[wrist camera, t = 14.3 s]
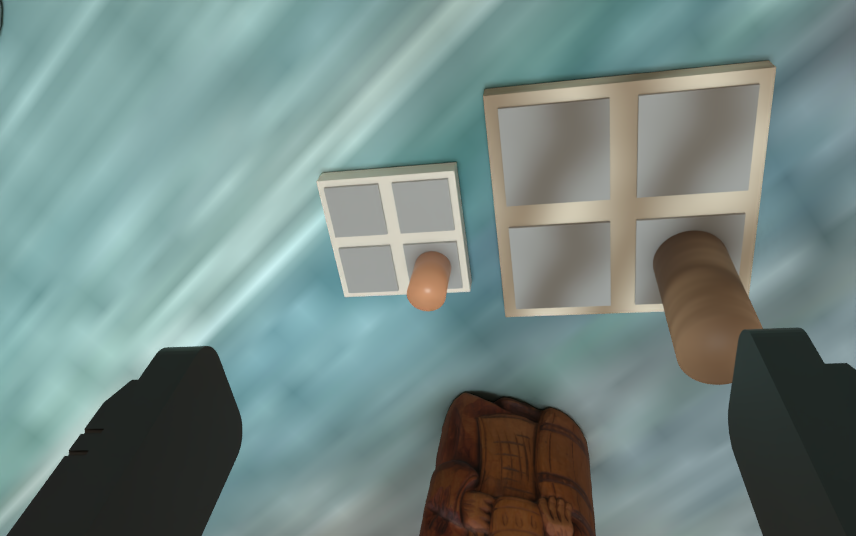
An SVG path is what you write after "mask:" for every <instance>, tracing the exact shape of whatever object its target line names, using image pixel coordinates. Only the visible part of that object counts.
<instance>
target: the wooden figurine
mask: <svg viewBox="0 0 856 536" xmlns="http://www.w3.org/2000/svg"><path fill="white" fill-rule="evenodd" d="M419 536H596V533H595V519H594V508H593V500H592V486H591V477H590V462H589V453H588V447H587V442H586V440H585V438H584V436H583V434H582V432H581V430H580V428H579V427H578V426H577V425H576V424H575V423H574V421H573V420H572V419H571V418H569V417H568V416H567V415H566V414H564V413H563V412H561V411H559V410H556V409H554V408H548V409H545V410H544V411H543V410H538V409H536V408H534V407H532V406H531V405H529V404H527V403H524V402H522V403H521V402H519V401H517V400H514V399H512V398H506V397H502V398H500V399H498V400H497V401H495V402H493V403H492V402H489V401H487V400H484V399H482V398H480V397H478V396H475V395H472V394H470V393H463V394H461V395H460V396H459V397H458V398H456V399H455V400H454V401H453V403H452V405H451V406H450V408H449V411H448V413H447V415H446V418H445V422H444V425H443V427H442V434H441V439H440V443H439V448H438V453H437V458H436V468H435V471H434V472H433V474H432V477H431V481H430V487H429V491H428V496H427V499H426V504H425V508H424V513H423V520H422V524H421V530H420V535H419Z"/></svg>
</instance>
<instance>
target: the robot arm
mask: <svg viewBox="0 0 856 536" xmlns="http://www.w3.org/2000/svg"><path fill="white" fill-rule="evenodd" d="M0 27H1V4H0ZM728 425H729V434H730V440H731V445H732V449H733V452H734V455H735V458H736V461H737V464H738V467H739V469H740V472H741V475H742V478H743V481H744V484H745V486H746V489H747V492H748V495H749V498H750V500H751V503H752V506H753V509H754V512H755V514H756V517H757V520H758V523H759V526H760V529H761V531H762V534H763V536H856V370H855V369H854V368H853V367H851V366H850V365H849V364H847V363H835V364H825V363H824V362H823V360H822V358H821V357H820V355H819V353H818V352H817V350H816V348H815V346H814V345H813V343H812V341H811V340H810V338H809V336H808V335H807V333H806V332H805V331H804V330H803V329H802V328H772V329H744V330H742V332H741V333H740V335H739V339H738V344H737V351H736V359H735V366H734V373H733V380H732V387H731V394H730V401H729V409H728ZM241 442H242V420H241V416H240V412H239V410H238V407H237V404H236V402H235V399H234V396H233V394H232V391H231V388H230V386H229V383H228V380H227V377H226V375H225V372H224V369H223V367H222V364H221V361H220V359H219V356H218V354H217V352H216V351H215V350H214V349H213V348H212V347H210V346H196V347H167V348H163V349H161V350H160V351H159V352H158V353H157V354H156V355H155V357H154V358H153V359H152V361H151V362H150V364H149V365H148V367H147V368H146V369H145V371H144V372H143V374H142V375H141V377H140V378H139V380H131V381H130V382H129V383H127V384H126V385H125V386H124V387H123V388H121V389H120V390H119V391H118V392H116V393H115V394H114V395H113V396H111V397H110V398H109V399H108V400H106V401H105V402H104V403H103V404H102V406H101V407H100V408H99V410H98V411H97V413H96V414H95V415H94V417H93V418H92V419H91V421H90V422H89V424H88V425H87V426H86V428H85V433H84V434H80V436H79V437H78V439H77V440H76V441H75V443H74V444H73V445H72V447H71V448H70V450H69V455H68V456H64V458H63V459H62V460H61V462H60V463H59V465H58V466H57V467H56V469H55V470H54V471H53V473H52V474H51V476H50V477H49V478H48V480H47V481H46V482H45V484H44V485H43V486H42V488H41V489H40V491H39V492H38V493H37V495H36V496H35V497H34V499H33V500H32V502H31V503H30V504H29V506H28V507H27V508H26V510H25V511H24V513H23V514H22V515H21V517H20V518H19V519H18V521H17V522H16V523H15V525H14V526H13V528H12V529H11V530H10V532H9V533H8V534H7V536H202V533H203V531H204V529H205V527H206V525H207V522H208V520H209V518H210V516H211V513H212V511H213V509H214V507H215V505H216V502H217V500H218V498H219V496H220V493H221V491H222V489H223V487H224V485H225V482H226V480H227V478H228V476H229V473H230V471H231V469H232V467H233V465H234V462H235V460H236V458H237V456H238V453H239V450H240V447H241Z"/></svg>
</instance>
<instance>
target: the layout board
mask: <svg viewBox="0 0 856 536" xmlns="http://www.w3.org/2000/svg"><path fill="white" fill-rule="evenodd" d="M775 73H776V67H775V66H774V65H773V64H772V63H771V62H770V61H760V62H750V63H740V64H730V65H720V66H710V67H700V68H690V69H680V70H670V71H660V72H650V73H640V74H630V75H620V76H610V77H600V78H590V79H580V80H570V81H561V82H551V83H541V84H531V85H521V86H511V87H501V88H491V89H485V90H484V94H483V100H484V110H485V119H486V129H487V139H488V149H489V159H490V168H491V178H492V188H493V198H494V208H495V218H496V227H497V237H498V247H499V257H500V267H501V276H502V286H503V296H504V306H505V316H506V317H521V316H549V315H577V314H605V313H633V312H662V311H664V308H663V304H662V300H661V296H660V293H659V289H658V285H657V281H656V277H655V273H654V269H653V259H654V256H655V253H656V251H657V249H658V248H659V247H660V245H661V244H662V243H663V242H664V241H666V240H667V239H668V238H670V237H672V236H674V235H676V234H678V233H681V232H685V231H704V232H707V233H710V234H712V235H714V236H716V237H717V238H719V239H720V240H721V241H722V242H723V244H724V245H725V247H726V249H727V251H728V253H729V255H730V258H731V260H732V262H733V264H734V266H735V269H736V271H737V273H738V275H739V277H740V280H741V282H742V284H743V286H744V288H745V290H746V293H747V295H748V297H749V289H750V281H751V272H752V264H753V256H754V247H755V239H756V231H757V222H758V214H759V206H760V197H761V189H762V181H763V173H764V164H765V156H766V148H767V139H768V131H769V123H770V114H771V106H772V98H773V89H774V81H775Z"/></svg>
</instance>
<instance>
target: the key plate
mask: <svg viewBox="0 0 856 536" xmlns="http://www.w3.org/2000/svg"><path fill="white" fill-rule="evenodd" d="M316 182H317V186H318V190H319V194H320V198H321V202H322V206H323V210H324V214H325V218H326V223H327V227H328V231H329V235H330V239H331V243H332V247H333V251H334V255H335V259H336V263H337V267H338V271H339V275H340V279H341V283H342V288H343V292H344V296H345V297H357V296H380V295H403V294H407V298H408V300H409V302H410V303H411V304H412V305H413V306H414V307H416V308H417V309H420V310H423V311H433V310H436V309H438V308H440V307H441V306H442V305H443V303H444V301H445V298H446V293H450V292H470V289H471V283H472V279H471V271H470V264H469V256H468V248H467V240H466V233H465V225H464V217H463V209H462V202H461V194H460V186H459V178H458V171H457V163H456V162H453V163H440V164H428V165H416V166H403V167H391V168H378V169H366V170H353V171H341V172H328V173H322V174H321V175H320V177H319V178H318V180H317V181H316Z"/></svg>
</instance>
